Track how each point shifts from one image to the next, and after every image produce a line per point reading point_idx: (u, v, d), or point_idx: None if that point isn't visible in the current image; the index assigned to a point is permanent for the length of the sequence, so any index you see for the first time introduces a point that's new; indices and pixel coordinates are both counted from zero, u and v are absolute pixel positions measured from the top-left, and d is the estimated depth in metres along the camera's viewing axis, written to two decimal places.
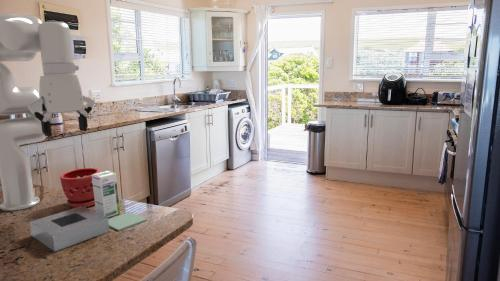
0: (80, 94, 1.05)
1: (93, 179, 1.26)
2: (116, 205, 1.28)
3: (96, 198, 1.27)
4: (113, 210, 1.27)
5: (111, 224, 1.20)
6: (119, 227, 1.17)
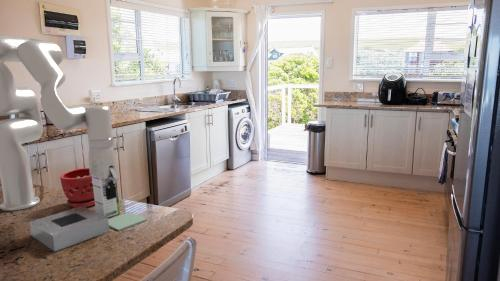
0: None
1: (93, 179, 1.26)
2: (116, 205, 1.28)
3: (96, 198, 1.27)
4: (113, 210, 1.27)
5: (111, 224, 1.20)
6: (119, 227, 1.17)
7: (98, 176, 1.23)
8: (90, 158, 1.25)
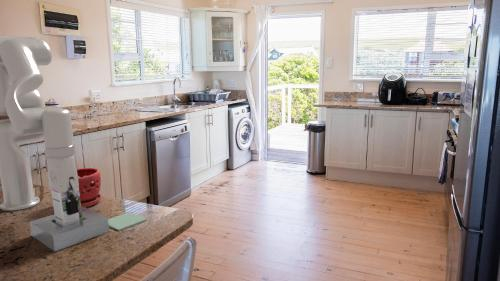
0: None
1: (52, 192, 1.11)
2: None
3: (56, 213, 1.12)
4: None
5: (111, 224, 1.20)
6: (119, 227, 1.17)
7: (57, 189, 1.09)
8: (48, 168, 1.11)
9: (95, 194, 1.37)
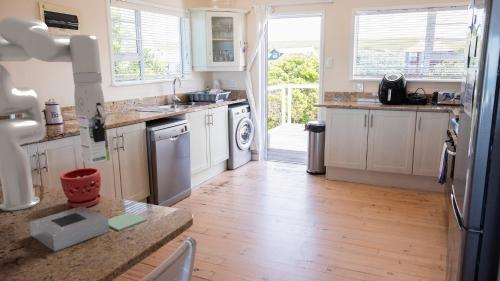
0: None
1: (79, 120, 1.12)
2: (105, 150, 1.14)
3: (83, 141, 1.13)
4: (101, 155, 1.13)
5: (111, 224, 1.20)
6: (119, 227, 1.17)
7: (84, 115, 1.09)
8: (76, 96, 1.11)
9: (95, 194, 1.37)
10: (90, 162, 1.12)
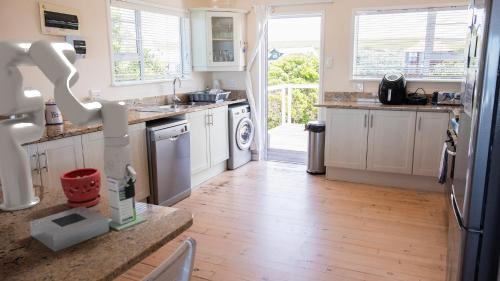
0: None
1: (108, 183, 1.19)
2: (132, 210, 1.22)
3: (111, 203, 1.20)
4: (129, 215, 1.21)
5: (111, 224, 1.20)
6: (119, 227, 1.17)
7: (114, 175, 1.16)
8: (105, 156, 1.18)
9: (95, 194, 1.37)
10: (119, 223, 1.19)
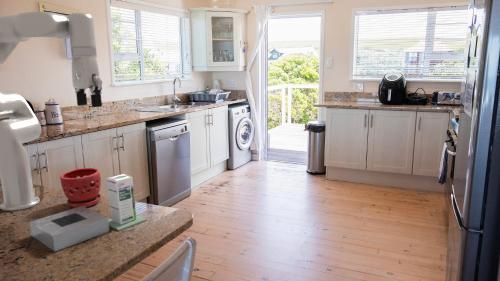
0: None
1: (108, 183, 1.19)
2: (132, 210, 1.22)
3: (111, 203, 1.20)
4: (129, 215, 1.21)
5: (111, 224, 1.20)
6: (119, 227, 1.17)
7: (81, 85, 1.23)
8: (73, 68, 1.25)
9: (95, 194, 1.37)
10: (119, 223, 1.19)
